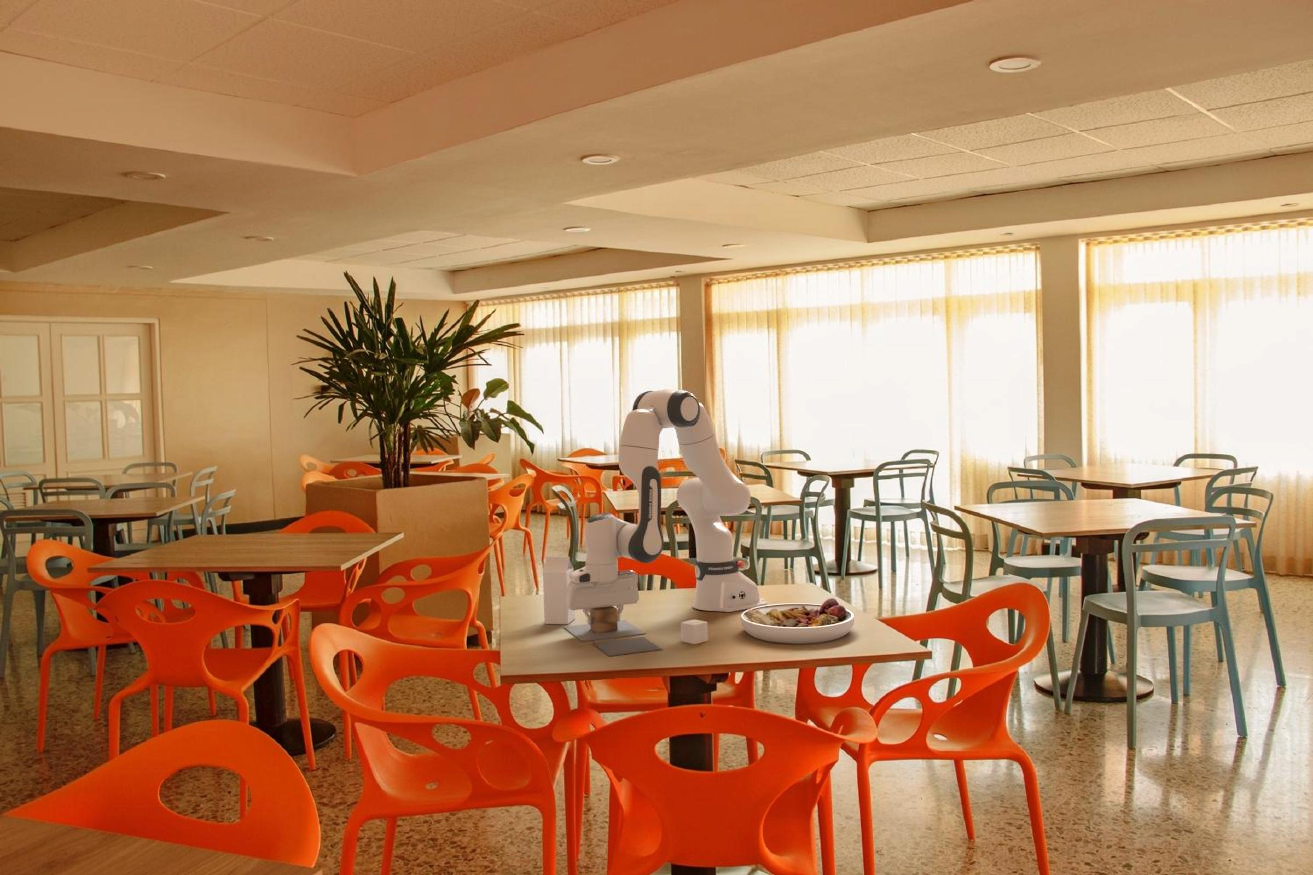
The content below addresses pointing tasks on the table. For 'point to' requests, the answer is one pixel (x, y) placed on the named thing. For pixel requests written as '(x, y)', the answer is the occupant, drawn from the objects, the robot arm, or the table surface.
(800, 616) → the bowl
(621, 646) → the mat
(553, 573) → the milk carton
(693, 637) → the beige block
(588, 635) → the tile
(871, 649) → the table surface
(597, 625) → the walnut block
